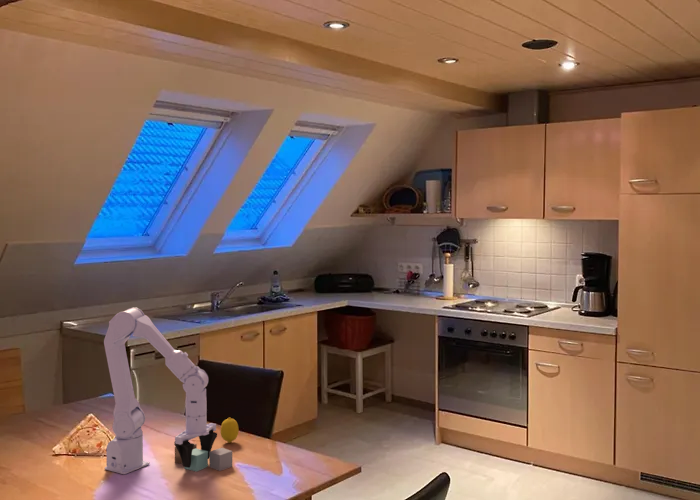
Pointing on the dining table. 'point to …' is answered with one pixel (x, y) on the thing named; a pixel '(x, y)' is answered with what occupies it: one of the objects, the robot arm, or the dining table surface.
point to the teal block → (198, 460)
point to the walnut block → (177, 455)
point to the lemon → (229, 430)
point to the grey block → (220, 459)
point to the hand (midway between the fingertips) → (196, 462)
